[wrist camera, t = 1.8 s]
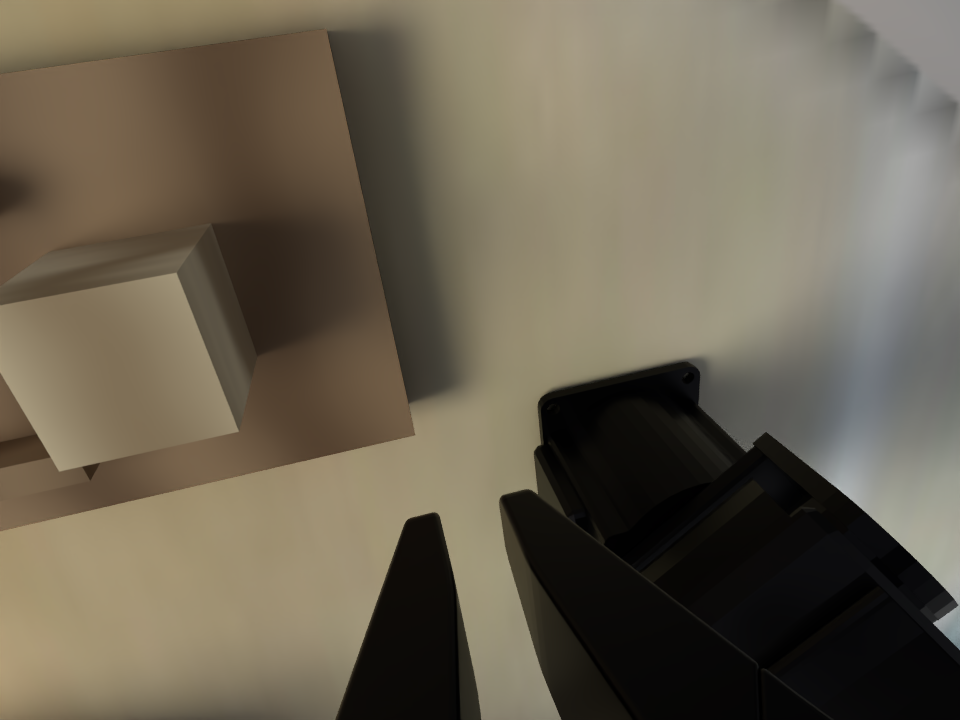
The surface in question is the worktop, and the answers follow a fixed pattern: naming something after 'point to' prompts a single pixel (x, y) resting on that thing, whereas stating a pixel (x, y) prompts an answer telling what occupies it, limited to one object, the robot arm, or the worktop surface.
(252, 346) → the maple block
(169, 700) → the worktop surface
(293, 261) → the lane deck
